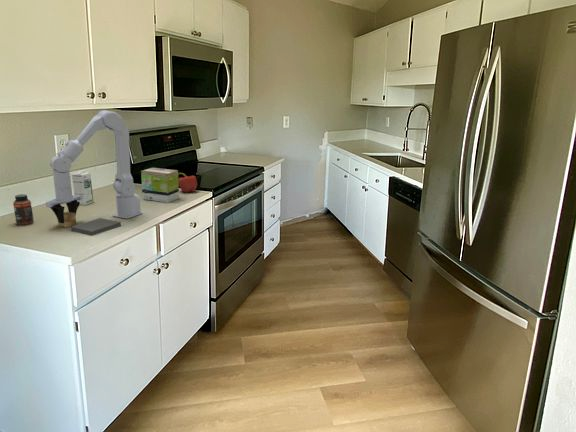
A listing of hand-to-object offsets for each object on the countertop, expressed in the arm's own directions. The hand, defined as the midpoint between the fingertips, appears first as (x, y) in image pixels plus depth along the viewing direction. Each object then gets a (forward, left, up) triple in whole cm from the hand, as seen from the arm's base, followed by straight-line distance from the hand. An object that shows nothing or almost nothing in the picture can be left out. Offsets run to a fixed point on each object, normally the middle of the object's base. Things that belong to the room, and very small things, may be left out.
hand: (67, 221), depth 167 cm
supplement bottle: (+7, -15, -2) cm, 17 cm away
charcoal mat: (-3, +13, -1) cm, 13 cm away
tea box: (-51, +3, -2) cm, 51 cm away
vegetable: (-71, +4, -2) cm, 71 cm away
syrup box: (-26, -21, -2) cm, 33 cm away
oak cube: (0, 0, -1) cm, 1 cm away
